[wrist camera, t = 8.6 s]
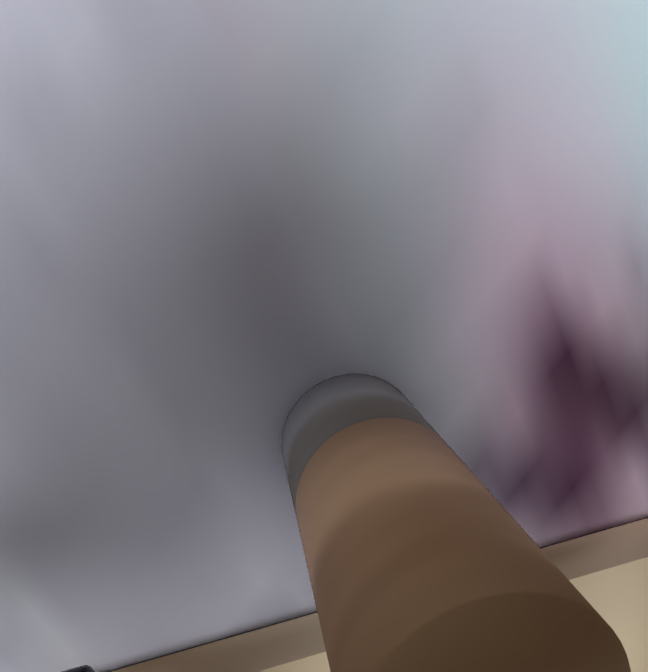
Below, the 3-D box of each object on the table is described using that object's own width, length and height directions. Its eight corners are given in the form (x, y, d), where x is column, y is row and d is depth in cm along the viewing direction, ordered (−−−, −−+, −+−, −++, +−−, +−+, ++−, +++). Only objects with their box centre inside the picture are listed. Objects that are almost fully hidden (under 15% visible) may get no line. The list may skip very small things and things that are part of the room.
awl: (442, 409, 13) (685, 648, 6) (375, 522, 13) (533, 866, 6) (323, 350, 12) (448, 548, 5) (256, 472, 12) (294, 803, 6)
